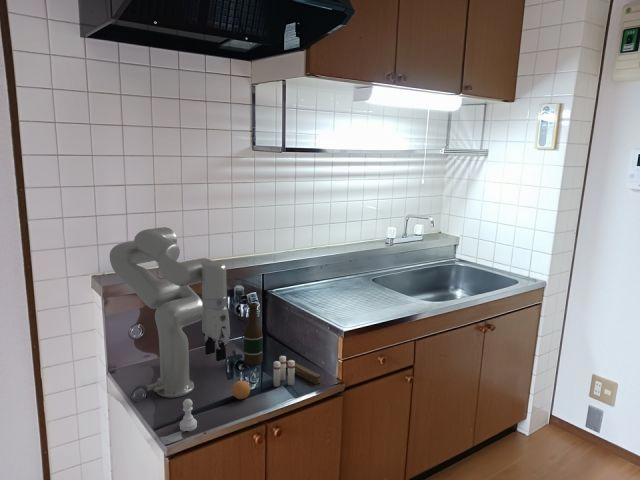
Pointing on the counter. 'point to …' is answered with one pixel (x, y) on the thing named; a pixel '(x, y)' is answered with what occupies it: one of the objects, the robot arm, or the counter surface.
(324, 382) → the counter surface
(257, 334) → the beer bottle
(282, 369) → the pin
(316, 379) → the back rail
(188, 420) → the chess pawn
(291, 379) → the pin
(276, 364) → the front pin
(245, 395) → the ball
